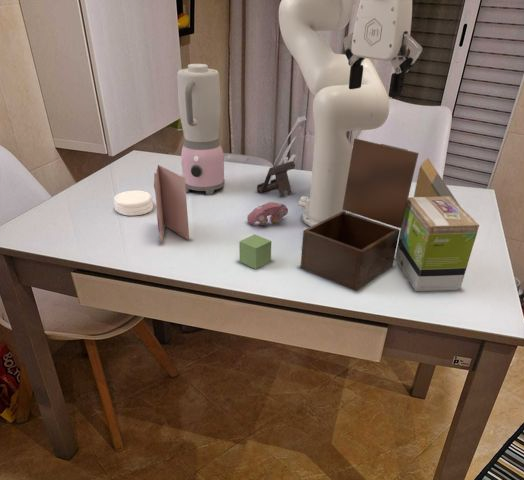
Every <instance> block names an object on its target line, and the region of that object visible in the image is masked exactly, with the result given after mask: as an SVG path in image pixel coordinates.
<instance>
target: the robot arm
mask: <svg viewBox="0 0 524 480" xmlns="http://www.w3.org/2000/svg"><path fill="white" fill-rule="evenodd" d="M357 2H358V0H281V1H280V3H279V5H278V6H279V7H278V24H279V29H280V35H281V37H282V40H283V42H284V45H285V46H286V49H287V50H288V51H289V53H290V54H291V56H292V57H293V58H294V60H295V61H296V63H297V64H298V67H299V69H300V72H301V74H302V78H303V79H304V81H305V84H306V86H307V89H308V91H309V92H310V94H311V95H312V96H313V97H314V98H313V100H312V101H313V102H312V118H313V137H314V138H313V141H314V142H313V155H312V168H311V182H310V193H309V197H308V196H305V195H302V196H301V197H300V199H299V200H298V206H299V207H302V208H304V209H305V211H304V212H303V213H302V221H303V222H304V224H305V225H307V226H309V227H311V226H313V225H316V224H318V223H320V222H322V221H324V220H326V219H328V218H330V217H332V216H334V215H336V214H338V213H340V212H342V211H344V212H347V211H345V210H342V209H343V203H344V197H345V191H346V185H347V179H348V173H349V167H350V161H351V155H352V149H353V145H352V144H351V142H350V140H349V139H348V137H347V132H353V131H354V132H355V131H356V132H357V131H368V130H369V131H370V130H376V129H378V128H381V127H382V126H383V125H384V124H385V123H386V122H387V120H388V117H389V115H390V99H389V98H395V97H396V98H397V97H400V96H401V95H402V91H403V89H404V83H405V76H406V73H408V72H409V71H410V69H411V68H412V67H413V66H414V65H415V64H416V62H417V60H418V58H419V57H420V55H421V53H422V52H423V47H422V46H421V44H419V43H418V42H417V41H416V39H414V37H412V36H411V31H412V30H411V29H412V18H413V0H359V4H358V8H357V11H356V16H355V22H354V26H353V32H351V33H350V34H348V35H347V36H345V37H343V39H342V44H343V49H344V53H343V54H342V53H336V52H334V51H333V49H332V47H331V45H330V43H329V41H328V40H327V39H326V38H325V37H324V36H323V35H321V33H319V32H332V31H333V32H336V31H341V30H343V29H345V28H346V27H347V25H348V24H349V23H350V21H351V18H352V15H353V12H354V10H355V7H356V4H357ZM408 50H409V54H408V57H406V56H407V53H408ZM371 60H376V61H383V62H389V61H390V63H391V65H392V69H393V70H394V72H393V73H391V76H390V82H389V89H388V92H387V90H386V87H385V85H384V84H383V81H382V79H381V77H380V76H379V74H378V72H377V70H376V68H375V66H374V64H373V62H372V61H371Z"/></svg>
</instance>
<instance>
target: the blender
mask: <svg viewBox="0 0 524 480" xmlns="http://www.w3.org/2000/svg"><path fill="white" fill-rule="evenodd" d="M176 78H177V100H178V112H179V117H180V118H179V119H180V123H181V128H182V131H183V136H184V137H183V138H184V142H183V145H182V148H181V152H180V154H181V155H180V158H181V171H182V177H184V178H185V187H186V193H189V192H190V191H191V190H192V191H197V192H205V195H207V196H209V195H214V191H216V190H218V189H219V190H220V189H221V188H223V187H224V186H225V185H226V184H225V159H224V158H225V157H224V150H223V148H222V146H221V143H220V140H219V139H220V138H219V135H220V134H219V133H220V125H221V116H222V102H221V100H222V99H221V84H220V83H221V82H220V73H219V71H218V70H217V69H215V68H214V69H213V68H209V66H208V64H205V63H190V64H187V68H182V69H178V71H177V73H176Z"/></svg>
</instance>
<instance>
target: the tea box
mask: <svg viewBox="0 0 524 480" xmlns="http://www.w3.org/2000/svg"><path fill="white" fill-rule="evenodd" d="M458 204H459V203H458ZM458 204H457V203H456V202H455V201H454V200H453V199H452V198H451V197H450V196H439V197H414V196H410V197H409V196H408V200H407V204H406V209H405V213H404V217H403V221H402V225H401V228H400V229H399V230H400V232H399V237H398V242H397V247H396V252H395V257H394V258H395V259H396V261H397V263H398V264H399V266H400V268H401V270H402V271H403V273H404V274H405V277H406V278H407V279H408V281H409V283H410V285H411V286H412V288H413V290H414V291H415V292H436V291H438V292H439V291H457V290H458V291H459V290H461V289H462V285H463V282H464V279H465V275H466V272H467V268H468V264H469V261H470V258H471V255H472V251H473V247H474V244H475V241H476V238H477V234H478V230H479V227H480V224H479V223H478V222H477V221H476V220H474V218H473V217H471V215H470V214H469V213H468V212H467V211H466V210H465V209H464V208H463V207H462V206H461V205H460V204H459V205H460V206H459V205H458Z"/></svg>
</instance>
